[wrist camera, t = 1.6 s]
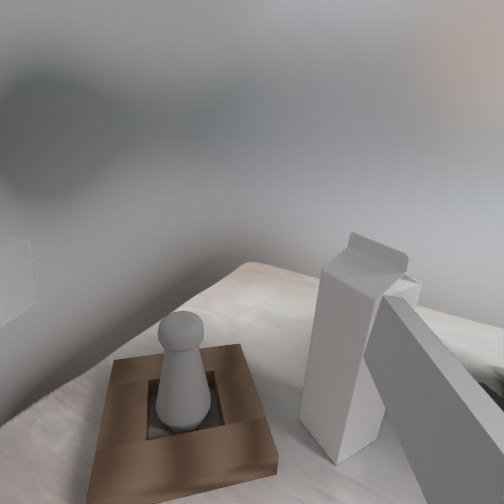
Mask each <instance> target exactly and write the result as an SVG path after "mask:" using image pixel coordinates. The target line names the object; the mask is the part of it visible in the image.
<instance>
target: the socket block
mask: <svg viewBox="0 0 504 504" xmlns="http://www.w3.org/2000/svg"><path fill="white" fill-rule="evenodd" d="M199 351H200V355H201V359H202V363H203V367H204V371H205V375H206V379H207V383H208V387H210V386H214V389H215V394H216V400H217V405H218V410H219V415H220V420H221V426H218V427H213V428H208V429H203V430H198V431H192V432H187V433H182V434H177V435H172V436H167V437H162V438H157V439H152V440H148V428H149V404H150V396H155V395H158V389H159V383H160V376H161V370H162V364H163V357H164V354H157V355H149V356H141V357H134V358H126V359H118V360H114V362H113V367H112V372H111V377H110V382H109V388H108V393H107V398H106V403H105V408H104V413H103V418H102V424H101V429H100V434H99V439H98V444H97V449H96V454H95V460H94V465H93V470H92V475H91V480H90V485H89V490H88V496H87V504H157V503H161V502H165V501H169V500H173V499H177V498H181V497H185V496H189V495H193V494H198V493H202V492H206V491H210V490H214V489H218V488H222V487H226V486H230V485H234V484H238V483H242V482H246V481H250V480H254V479H258V478H262V477H266V476H271V475H275V474H277V466H278V458H279V456H278V453H277V450H276V447H275V444H274V441H273V438H272V435H271V433H270V430H269V427H268V424H267V421H266V418H265V415H264V412H263V409H262V406H261V403H260V400H259V397H258V395H257V392H256V389H255V386H254V383H253V380H252V377H251V374H250V371H249V368H248V365H247V362H246V360H245V357H244V354H243V351H242V348H241V345H240V344H233V345H225V346H218V347H210V348H202V349H199Z"/></svg>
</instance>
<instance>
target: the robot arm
mask: <svg viewBox="0 0 504 504" xmlns="http://www.w3.org/2000/svg"><path fill="white" fill-rule="evenodd" d="M35 304H36V300H35V288H34V276H33V264H32V251H31V239H30V238H27V237H21V236H14V235H8V236H5V237H2V238H0V328H1V327H2V326H4V325H5V324H6V323H8V322H10V321H11V320H13V319H14V318H16V317H17V316H19V315H20V314H21V313H23V312H25V311H26V310H27V309H29V308H31V307H32V306H33V305H35ZM363 358H364V361H365V363H366V365H367V367H368V370H369V372H370V374H371V376H372V379H373V381H374V383H375V386H376V388H377V390H378V392H379V395H380V397H381V399H382V401H383V404H384V406H385V408H386V411H387V413H388V415H389V417H390V420H391V422H392V424H393V426H394V429H395V431H396V433H397V435H398V438H399V440H400V442H401V445H402V447H403V449H404V451H405V454H406V456H407V458H408V460H409V463H410V465H411V467H412V470H413V472H414V474H415V476H416V479H417V481H418V483H419V485H420V488H421V490H422V492H423V495H424V497H425V499H426V501H427V504H504V394H503V398H502V397H501V396H500V395H498V394H497V393H496V392H494V391H493V390H492V389H490V388H489V387H488V386H486V385H485V384H483V383H478V382H477V381H476V380H475V379H474V378H473V377H472V376H471V374H470V373H469V372H468V371H467V370H466V369H465V368H464V366H463V365H462V364H461V363H460V362H459V361H458V360H457V359H456V357H455V356H454V355H453V354H452V353H451V352H450V351H449V349H448V348H447V347H446V346H445V345H444V344H443V343H442V341H441V340H440V339H439V338H438V337H437V336H436V335H435V334H434V332H433V331H432V330H431V329H430V328H429V327H428V326H427V324H426V323H425V322H424V321H423V320H422V319H421V318H420V316H419V315H418V314H417V313H416V312H415V311H414V310H413V309H412V307H411V306H410V305H409V304H408V303H407V302H406V301H405V299H404V298H400V297H394V296H387V295H382V298H381V301H380V305H379V308H378V311H377V314H376V317H375V320H374V324H373V327H372V330H371V333H370V336H369V339H368V343H367V346H366V349H365V352H364V355H363Z"/></svg>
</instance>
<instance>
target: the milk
mask: <svg viewBox="0 0 504 504" xmlns="http://www.w3.org/2000/svg"><path fill="white" fill-rule="evenodd" d="M408 263H409V256H408V254H406V253H404V252H402V251H399V250H397V249H394V248H392V247H389V246H387V245H385V244H382V243H379V242H377V241H375V240H372V239H370V238H367V237H365V236H362V235H360V234H358V233H355V232H352V233H351V234H350V238H349V243H348V247H347V248H346V249H345V250H343V251H342V252H341V253H340V254H339V255H337V256H336V257H335V258H334V259H333V260H332V261H330V262H329V263H328V264H327V265H326V266H325V267H323V268H322V270H321V277H320V283H319V290H318V297H317V303H316V310H315V316H314V323H313V330H312V336H311V343H310V349H309V356H308V362H307V369H306V376H305V382H304V389H303V395H302V402H301V408H300V415H299V420H300V421H301V422H302V424H303V425H304V426H305V427H306V429H307V430H308V431H309V432H310V434H311V435H312V436H313V438H314V439H315V440H316V441H317V443H318V444H319V445H320V446H321V448H322V449H323V450H324V451H325V453H326V454H327V455H328V456H329V458H330V459H331V460H332V461H333V463H334V464H335V465H336V466H337V465H338V464H340V463H341V462H343V461H344V460H346V459H348V458H349V457H351V456H352V455H354V454H355V453H357V452H358V451H360V450H361V449H363V448H364V447H366V446H367V445H369V444H370V443H372V442H373V441H375V440H376V439H377V436H378V433H379V430H380V426H381V423H382V420H383V416H384V413H385V409H386V408H385V406H384V404H383V401H382V399H381V397H380V395H379V392H378V390H377V388H376V386H375V383H374V381H373V379H372V376H371V374H370V372H369V370H368V367H367V365H366V363H365V361H364V358H363V355H364V352H365V349H366V346H367V343H368V339H369V336H370V333H371V330H372V327H373V324H374V320H375V317H376V314H377V311H378V308H379V305H380V301H381V298H382V295H387V296H394V297H400V298H404V299H405V301H406V302H407V303H408V304H409V305H410V306H411V307H412V309H413V310H414V311H415V308H416V305H417V301H418V298H419V294H420V291H421V288H422V284H421V283H420V282H418V281H417V280H415V279H413V278H412V277H411V276H409V275H408V274H407V273H406V271H407V267H408Z"/></svg>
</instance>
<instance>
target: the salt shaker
mask: <svg viewBox="0 0 504 504" xmlns="http://www.w3.org/2000/svg"><path fill="white" fill-rule="evenodd" d="M203 335H204V326H203V321H202V320H201V318H200V317H199V316H198V315H196V314H194V313H191V312H187V311H179V312H174V313H172V314H169V315H167V316H166V317H165V318H164V319H163V320H162V321H161V322H160V324H159V329H158V339H159V341H160V343H161V345H162V346H163V348H165V351H164V357H163V364H162V370H161V376H160V383H159V389H158V396H157V402H156V408H155V409H156V412H157V414H158V416H159V418H160V420H161V422H163V423H164V424H165V425H166V426H168V427H169V428H170V429H171V430H172V431H173V432H174V433H175V434H182V433H187V432H192V431H194V430H195V429H196V428H197V427H198V426H199V425H200V423H201V422H202V421H203V420H204V418H205V417H206V415H207V413H208V411H209V409H210V406H211V394H210V391H209V387H208V383H207V379H206V375H205V371H204V367H203V363H202V359H201V355H200V351H199V347H198V345H199V344H200V343H201V341H202V340H203Z"/></svg>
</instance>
